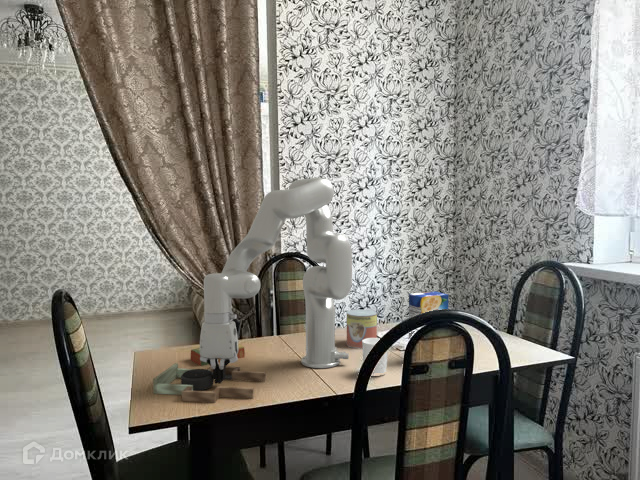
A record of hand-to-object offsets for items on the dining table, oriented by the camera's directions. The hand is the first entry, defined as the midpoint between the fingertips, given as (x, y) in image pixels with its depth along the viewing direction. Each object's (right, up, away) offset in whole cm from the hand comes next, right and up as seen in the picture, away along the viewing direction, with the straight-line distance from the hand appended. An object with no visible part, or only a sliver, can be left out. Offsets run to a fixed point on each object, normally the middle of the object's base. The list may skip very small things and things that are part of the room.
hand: (219, 381), depth 142 cm
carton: (-6, -1, +27) cm, 28 cm away
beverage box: (+64, 0, +25) cm, 69 cm away
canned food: (+44, +1, +44) cm, 62 cm away
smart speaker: (-6, -2, +1) cm, 7 cm away
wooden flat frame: (-2, -2, 0) cm, 3 cm away
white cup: (+45, -1, +12) cm, 47 cm away
